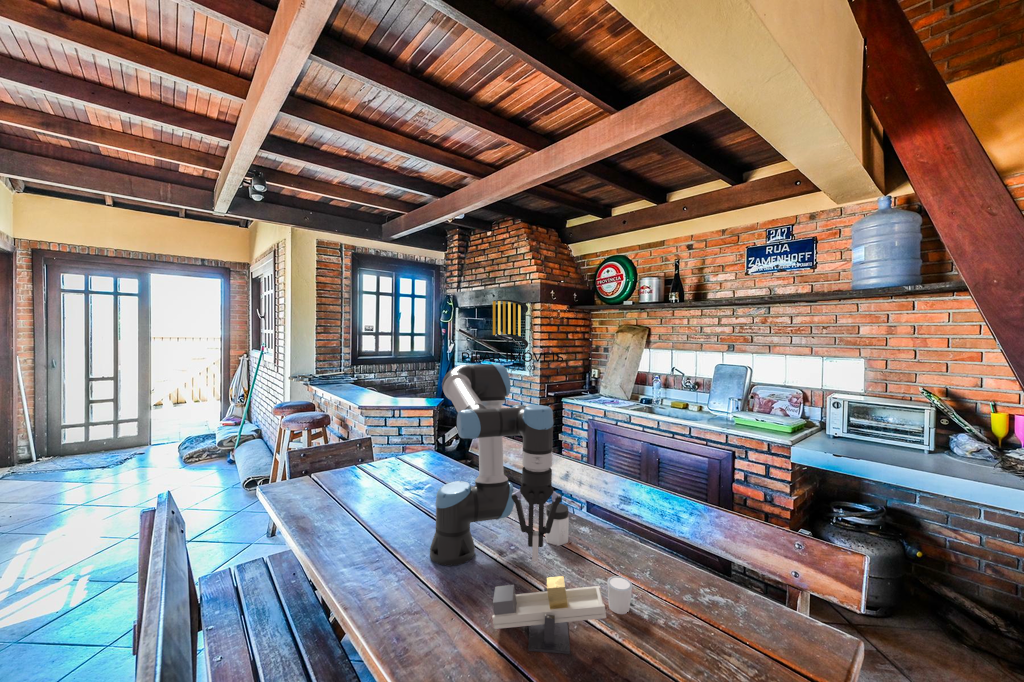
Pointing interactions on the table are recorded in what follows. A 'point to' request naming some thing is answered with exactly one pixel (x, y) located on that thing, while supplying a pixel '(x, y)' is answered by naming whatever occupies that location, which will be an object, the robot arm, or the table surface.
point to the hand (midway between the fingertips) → (535, 558)
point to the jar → (558, 526)
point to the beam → (544, 607)
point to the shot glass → (619, 594)
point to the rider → (557, 592)
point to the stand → (549, 636)
